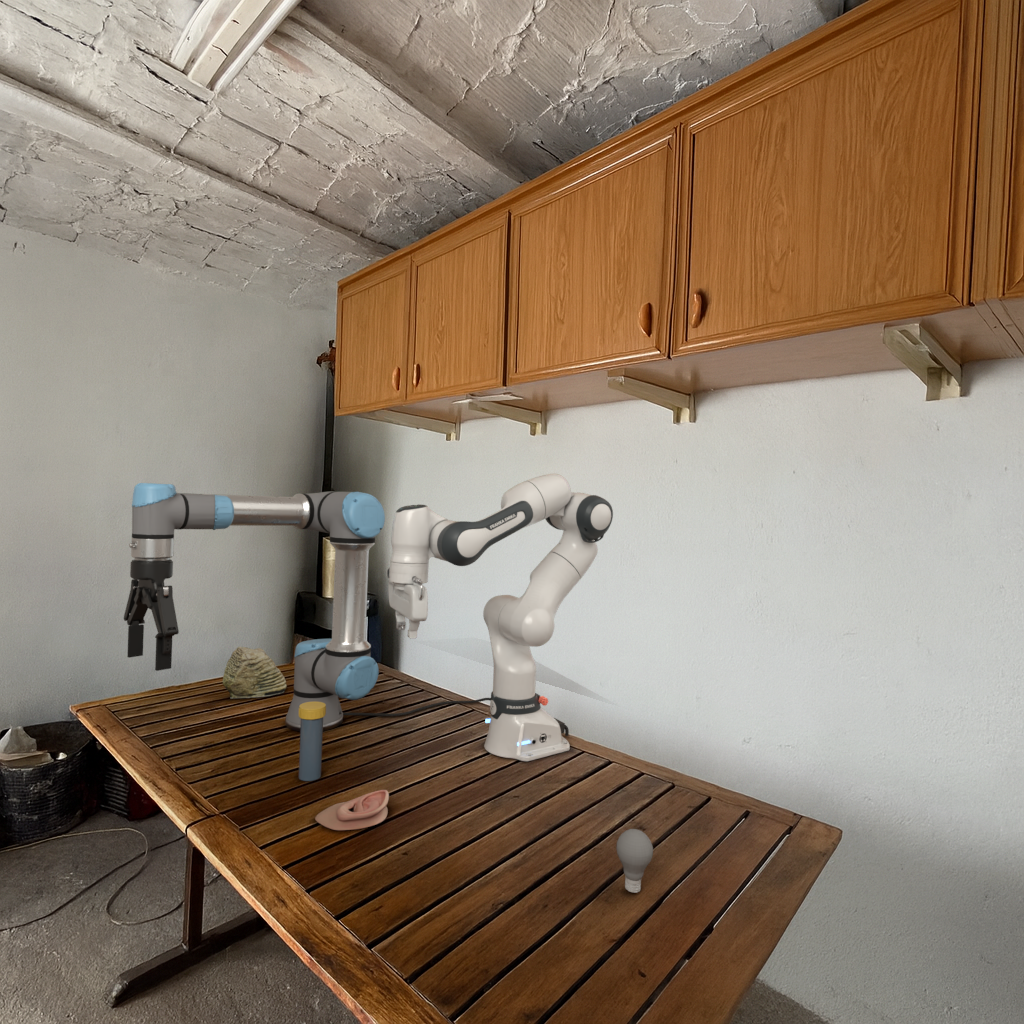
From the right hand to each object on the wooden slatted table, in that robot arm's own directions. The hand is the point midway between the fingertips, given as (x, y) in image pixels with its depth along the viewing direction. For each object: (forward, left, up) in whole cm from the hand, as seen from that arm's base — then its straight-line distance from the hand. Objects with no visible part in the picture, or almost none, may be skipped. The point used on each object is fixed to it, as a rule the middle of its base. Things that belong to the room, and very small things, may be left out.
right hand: (406, 633), depth 147 cm
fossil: (+28, -69, -32) cm, 81 cm away
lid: (+20, -4, -17) cm, 26 cm away
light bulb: (-24, +58, -32) cm, 70 cm away
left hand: (+52, -5, -4) cm, 53 cm away
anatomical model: (+15, +17, -32) cm, 39 cm away
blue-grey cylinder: (+20, -4, -32) cm, 38 cm away
